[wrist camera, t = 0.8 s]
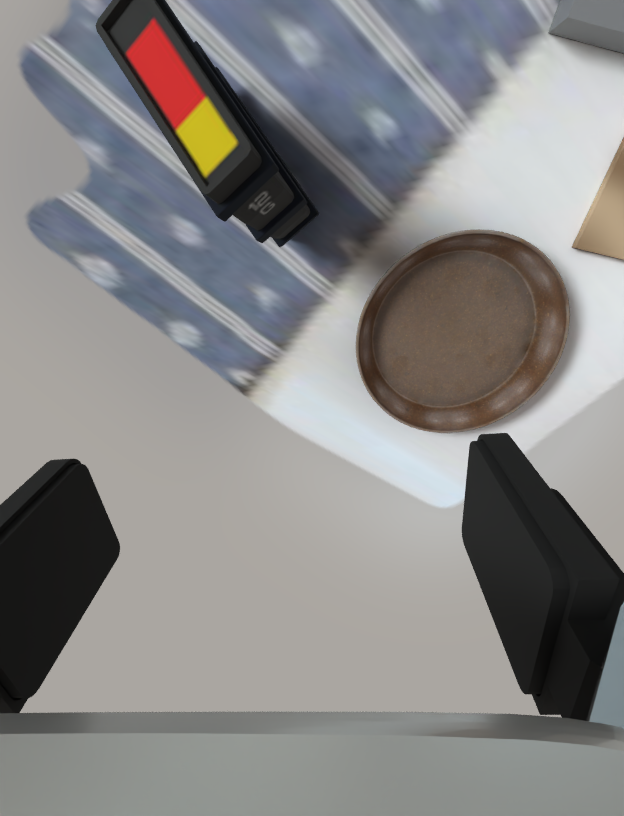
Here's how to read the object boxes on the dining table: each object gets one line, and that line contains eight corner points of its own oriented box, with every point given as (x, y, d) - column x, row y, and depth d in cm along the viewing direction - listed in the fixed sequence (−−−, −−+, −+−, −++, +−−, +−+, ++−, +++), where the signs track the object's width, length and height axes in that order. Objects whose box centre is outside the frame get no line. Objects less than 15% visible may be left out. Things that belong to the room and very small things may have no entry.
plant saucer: (594, 325, 36) (615, 334, 33) (441, 449, 42) (449, 466, 40) (463, 176, 31) (476, 173, 28) (314, 342, 38) (313, 352, 35)
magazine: (305, 276, 33) (203, 208, 19) (223, 151, 34) (68, -1, 20) (342, 246, 32) (263, 149, 18) (255, 118, 33) (116, -68, 19)
